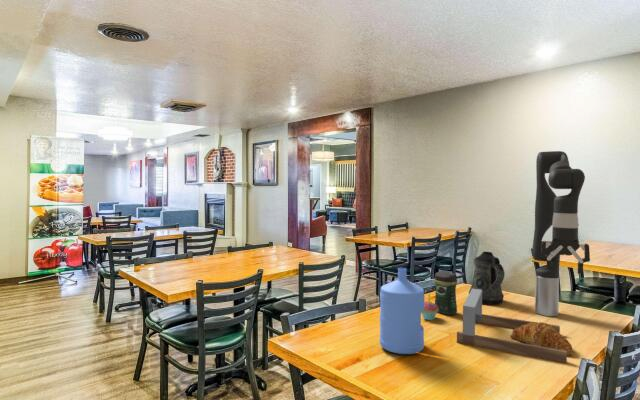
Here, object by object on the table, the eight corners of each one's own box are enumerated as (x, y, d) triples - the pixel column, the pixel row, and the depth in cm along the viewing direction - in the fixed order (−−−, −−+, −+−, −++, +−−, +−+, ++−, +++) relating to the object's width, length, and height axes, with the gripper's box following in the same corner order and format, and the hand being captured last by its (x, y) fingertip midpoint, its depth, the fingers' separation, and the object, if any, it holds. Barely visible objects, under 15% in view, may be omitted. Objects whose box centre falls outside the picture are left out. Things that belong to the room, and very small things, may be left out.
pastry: (506, 341, 139) (506, 320, 139) (520, 332, 148) (520, 313, 148) (569, 360, 124) (570, 336, 124) (581, 349, 132) (581, 327, 132)
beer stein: (478, 294, 203) (478, 248, 203) (515, 302, 188) (516, 253, 188) (462, 299, 193) (463, 251, 192) (500, 308, 178) (501, 256, 177)
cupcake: (439, 322, 159) (439, 294, 159) (419, 320, 161) (419, 293, 160) (437, 315, 167) (437, 289, 167) (417, 314, 169) (418, 288, 169)
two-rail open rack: (466, 319, 162) (467, 287, 162) (559, 334, 146) (559, 299, 145) (456, 342, 137) (457, 304, 137) (566, 363, 121) (567, 320, 121)
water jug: (398, 358, 124) (399, 275, 123) (371, 341, 137) (371, 266, 137) (433, 350, 131) (434, 270, 130) (404, 334, 145) (404, 263, 144)
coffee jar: (459, 313, 171) (460, 273, 170) (449, 316, 166) (450, 275, 165) (441, 308, 178) (441, 269, 178) (431, 311, 173) (431, 271, 173)
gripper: (588, 226, 130) (587, 272, 130) (541, 224, 137) (540, 268, 137) (591, 228, 123) (590, 276, 123) (541, 225, 130) (540, 271, 130)
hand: (564, 272), depth 130 cm, fingers open, 8 cm apart
